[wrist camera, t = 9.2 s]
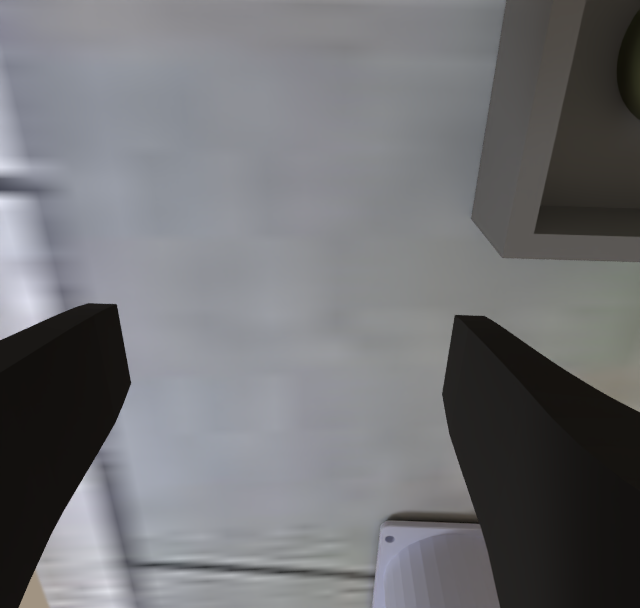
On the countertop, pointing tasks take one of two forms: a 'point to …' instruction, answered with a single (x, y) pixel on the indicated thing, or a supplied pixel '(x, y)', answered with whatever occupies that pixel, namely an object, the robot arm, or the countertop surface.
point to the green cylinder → (630, 67)
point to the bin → (560, 136)
